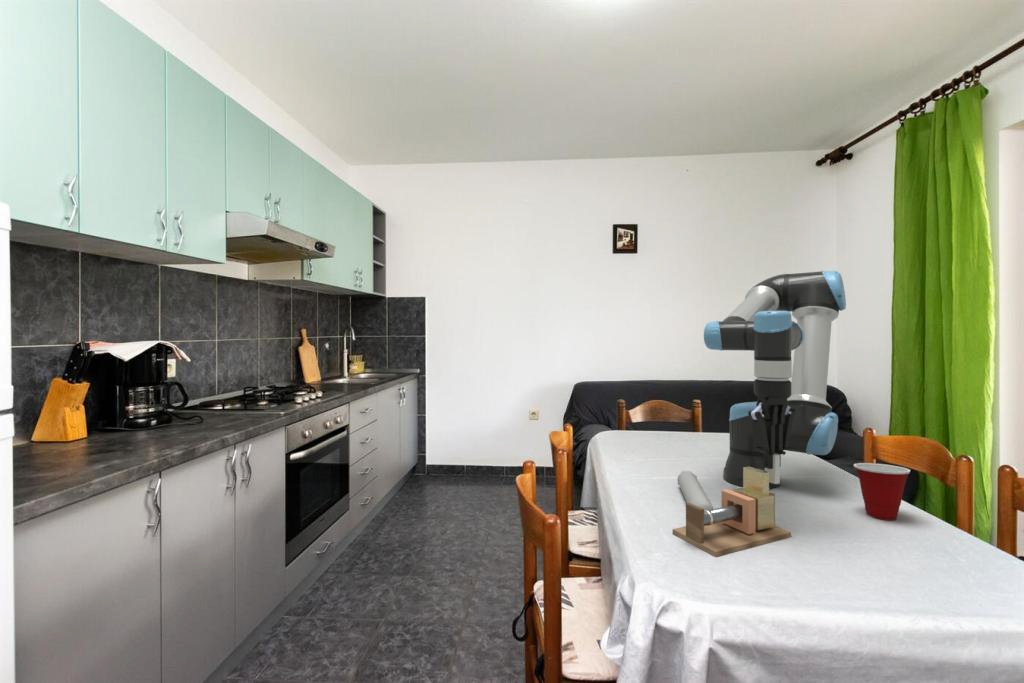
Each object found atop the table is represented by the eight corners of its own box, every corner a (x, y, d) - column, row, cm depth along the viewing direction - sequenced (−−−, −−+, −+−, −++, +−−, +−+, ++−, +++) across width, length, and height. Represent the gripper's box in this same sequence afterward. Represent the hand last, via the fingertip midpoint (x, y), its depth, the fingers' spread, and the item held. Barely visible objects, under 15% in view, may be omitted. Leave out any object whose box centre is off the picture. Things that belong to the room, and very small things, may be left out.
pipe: (759, 509, 110) (759, 496, 110) (771, 513, 108) (771, 500, 108) (689, 525, 102) (689, 511, 102) (700, 530, 99) (700, 515, 99)
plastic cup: (893, 508, 119) (893, 460, 119) (921, 526, 109) (921, 473, 108) (844, 506, 121) (844, 458, 121) (867, 522, 111) (867, 471, 110)
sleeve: (747, 515, 112) (747, 465, 111) (774, 526, 105) (774, 473, 105) (732, 519, 110) (732, 467, 109) (758, 530, 103) (758, 476, 103)
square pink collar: (728, 520, 109) (728, 489, 109) (755, 532, 103) (755, 499, 103) (721, 522, 109) (721, 490, 108) (748, 534, 102) (748, 500, 102)
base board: (744, 517, 115) (744, 483, 115) (791, 536, 104) (791, 499, 104) (672, 533, 106) (672, 497, 106) (715, 556, 95) (715, 516, 95)
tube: (719, 507, 111) (699, 474, 136) (696, 499, 112) (680, 467, 137) (711, 528, 112) (693, 492, 136) (688, 520, 113) (674, 485, 137)
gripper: (777, 376, 115) (776, 473, 116) (737, 378, 110) (737, 481, 110) (807, 378, 108) (807, 482, 109) (767, 381, 103) (766, 490, 104)
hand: (772, 481), depth 110 cm, fingers closed
